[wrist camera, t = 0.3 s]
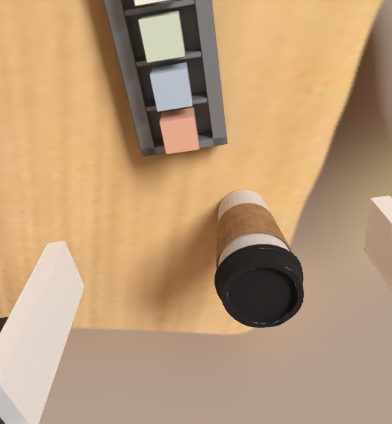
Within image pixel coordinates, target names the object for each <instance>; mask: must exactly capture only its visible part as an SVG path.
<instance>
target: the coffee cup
mask: <svg viewBox="0 0 392 424" xmlns="http://www.w3.org/2000/svg"><path fill="white" fill-rule="evenodd" d="M216 267H217V270H216V274H215V281H214V283H215V287H216V291H217V294H218V296H219V298H220V299H221V300H222V303H223V305H224V307H225V309H226V311H227V312H228V313H229V314H230V315H231V316H232V317H233V318H234V319H235V320H237V321H238V322H240V323H242V324H244V325H246V326H250V327H257V328H264V327H273V326H278V325H281V324H282V323H284V322H285V321H287V320H289V319H290V318H291V317H293V316H294V315H295V314H296V313H297V312H298V310H299V309H300V307H301V305H302V303H303V297H304V291H303V272H302V267H301V264H300V262H299V260H298V259H297V257H296V256H295V255H294V254H293V253H292V252H291V248H290V247H289V245H288V243H287V241H286V240H285V238H284V236H283V234H282V232H281V231H280V229H279V227H278V225H277V224H276V222H275V220H274V218H273V216H272V215H271V213H270V212H269V210H268V208H267V206H266V204H265V202H264V200H263V199H262V197H261V196H260V195H259V194H257V193H255V192H253V191H250V190H237V191H234V192H232V193H230V194H228V195H227V196H226V197H224V199H223V200H222V201H221V203H220V205H219V208H218V238H217V264H216Z"/></svg>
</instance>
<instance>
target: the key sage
mask: <svg viewBox="0 0 392 424" xmlns="http://www.w3.org/2000/svg"><path fill="white" fill-rule="evenodd" d="M138 21H139V26H140V30H141V35H142V40H143V45H144V50H145V54H146V59H147V63H148V62H154V61H160V60H166V59H172V58H178V57H184V56H185V48H184V41H183V35H182V28H181V22H180V15H179V11H174V12H169V13H163V14H157V15H151V16H145V17H142V18H140V19H139V20H138Z"/></svg>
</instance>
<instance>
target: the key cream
mask: <svg viewBox="0 0 392 424" xmlns="http://www.w3.org/2000/svg"><path fill="white" fill-rule="evenodd" d="M160 1H166V0H134V2H135V6H137V5H143V4H149V3H154V2H160Z"/></svg>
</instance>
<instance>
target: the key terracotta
mask: <svg viewBox="0 0 392 424" xmlns="http://www.w3.org/2000/svg"><path fill="white" fill-rule="evenodd" d="M160 126H161V131H162V136H163V141H164V145H165V150H166V154H172V153H178V152H185V151H192V150H199V140H198V132H197V126H196V119H195V113H194V107H193V108H186V109H180V110H173V111H167V112H162V113H161V118H160Z"/></svg>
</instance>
